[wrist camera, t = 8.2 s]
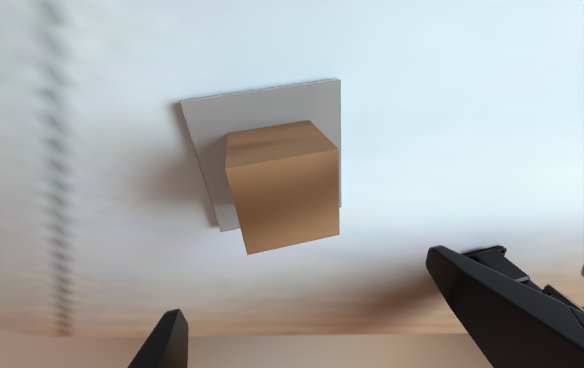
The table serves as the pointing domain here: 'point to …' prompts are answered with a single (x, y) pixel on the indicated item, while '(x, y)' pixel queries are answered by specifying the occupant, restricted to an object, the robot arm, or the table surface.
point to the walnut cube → (283, 184)
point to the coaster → (250, 115)
